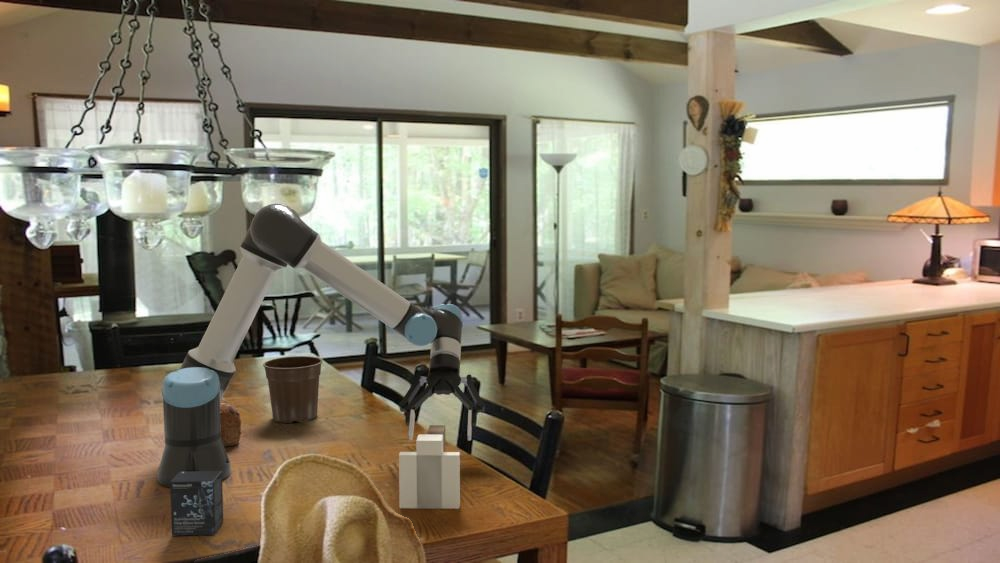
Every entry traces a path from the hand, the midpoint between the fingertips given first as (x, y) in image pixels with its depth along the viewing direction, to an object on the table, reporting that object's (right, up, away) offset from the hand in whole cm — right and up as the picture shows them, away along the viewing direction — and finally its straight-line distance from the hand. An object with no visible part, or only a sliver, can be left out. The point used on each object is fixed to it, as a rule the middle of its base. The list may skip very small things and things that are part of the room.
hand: (439, 437), depth 179 cm
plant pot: (-44, -3, +39) cm, 59 cm away
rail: (0, -8, -11) cm, 14 cm away
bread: (-60, -5, +21) cm, 64 cm away
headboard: (0, -9, -20) cm, 22 cm away
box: (-43, -11, -34) cm, 56 cm away
